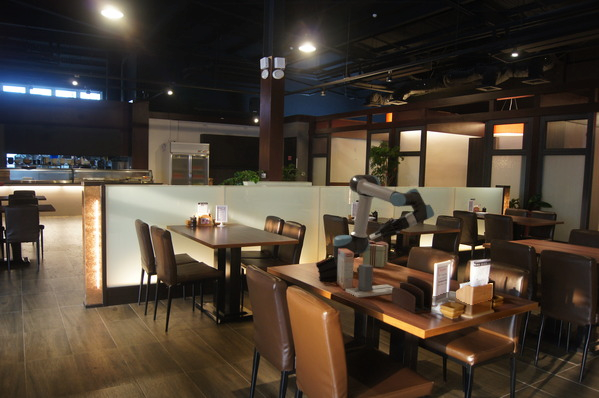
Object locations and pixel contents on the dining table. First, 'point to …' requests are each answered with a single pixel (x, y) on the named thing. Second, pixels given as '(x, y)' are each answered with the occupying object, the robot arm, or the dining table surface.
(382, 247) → the gift box
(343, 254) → the cracker box
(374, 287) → the switch board
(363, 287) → the slider knob
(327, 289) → the dining table surface
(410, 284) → the letter holder
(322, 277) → the black piece
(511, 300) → the dining table surface
